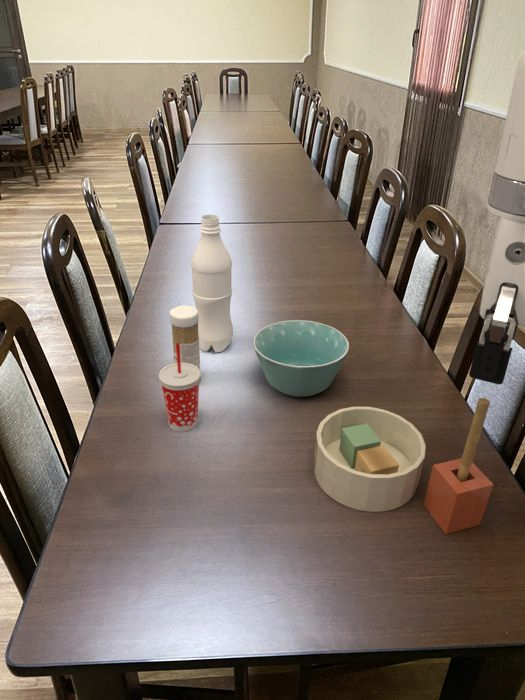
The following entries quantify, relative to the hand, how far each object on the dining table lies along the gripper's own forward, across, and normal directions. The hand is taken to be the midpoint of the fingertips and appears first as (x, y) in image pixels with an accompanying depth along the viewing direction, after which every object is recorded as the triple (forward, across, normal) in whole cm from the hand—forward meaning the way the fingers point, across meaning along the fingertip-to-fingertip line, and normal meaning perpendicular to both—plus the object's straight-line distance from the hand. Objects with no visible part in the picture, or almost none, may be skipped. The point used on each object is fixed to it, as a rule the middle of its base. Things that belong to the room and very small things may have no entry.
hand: (492, 357), depth 57 cm
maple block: (+22, -1, +10) cm, 24 cm away
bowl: (+22, +16, +29) cm, 40 cm away
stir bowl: (+23, +1, +12) cm, 26 cm away
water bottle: (+22, +19, +48) cm, 57 cm away
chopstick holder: (+23, -1, 0) cm, 23 cm away
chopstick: (+23, -1, 0) cm, 23 cm away
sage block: (+22, +2, +14) cm, 26 cm away
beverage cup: (+22, -2, +40) cm, 46 cm away
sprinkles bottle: (+22, +7, +46) cm, 52 cm away
